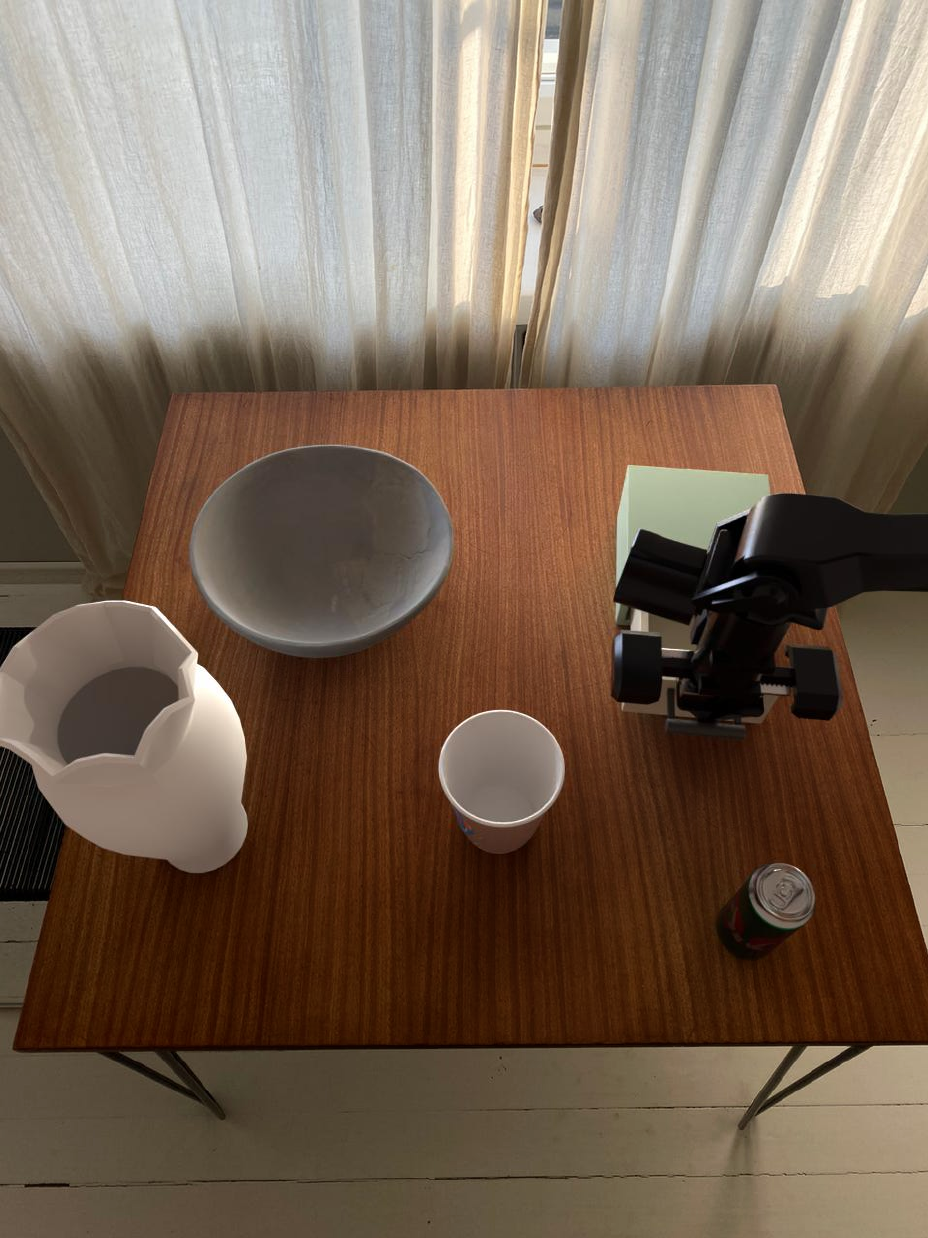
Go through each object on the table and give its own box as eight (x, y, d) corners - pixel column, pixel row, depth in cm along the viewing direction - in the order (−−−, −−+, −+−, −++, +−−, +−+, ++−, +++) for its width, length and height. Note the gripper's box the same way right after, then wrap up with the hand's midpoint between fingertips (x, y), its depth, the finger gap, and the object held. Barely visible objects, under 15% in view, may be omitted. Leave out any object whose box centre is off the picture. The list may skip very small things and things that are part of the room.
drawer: (765, 766, 83) (787, 734, 77) (621, 753, 84) (632, 720, 78) (751, 608, 93) (769, 570, 87) (622, 598, 93) (632, 559, 88)
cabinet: (756, 636, 92) (781, 588, 84) (615, 624, 93) (627, 575, 85) (746, 527, 100) (768, 474, 92) (616, 517, 101) (628, 464, 93)
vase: (301, 768, 84) (231, 597, 60) (259, 923, 76) (158, 799, 52) (155, 748, 85) (28, 573, 61) (99, 898, 78) (-73, 766, 53)
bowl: (243, 493, 103) (222, 432, 95) (464, 506, 102) (463, 445, 94) (186, 687, 89) (157, 635, 81) (443, 705, 88) (440, 654, 79)
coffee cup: (441, 769, 84) (437, 711, 74) (548, 764, 84) (558, 706, 74) (444, 875, 78) (440, 829, 68) (559, 870, 78) (571, 823, 68)
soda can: (785, 929, 75) (833, 889, 65) (753, 975, 73) (797, 940, 63) (735, 889, 77) (774, 844, 67) (702, 932, 75) (738, 893, 65)
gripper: (853, 555, 72) (795, 652, 85) (625, 538, 73) (602, 636, 86) (873, 672, 66) (807, 758, 79) (624, 651, 67) (600, 739, 80)
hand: (701, 718), depth 81 cm, fingers closed, pressing on drawer
